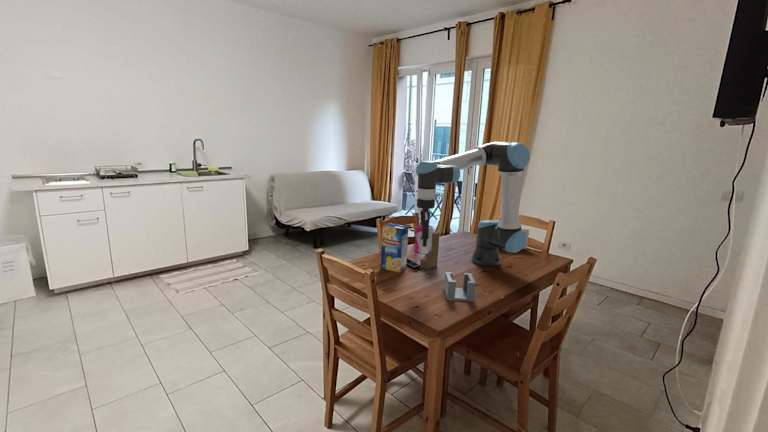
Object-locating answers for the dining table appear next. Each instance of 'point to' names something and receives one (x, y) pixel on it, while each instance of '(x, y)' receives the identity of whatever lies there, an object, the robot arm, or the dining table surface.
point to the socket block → (460, 293)
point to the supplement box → (418, 240)
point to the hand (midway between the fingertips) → (423, 250)
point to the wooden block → (431, 253)
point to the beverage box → (394, 247)
